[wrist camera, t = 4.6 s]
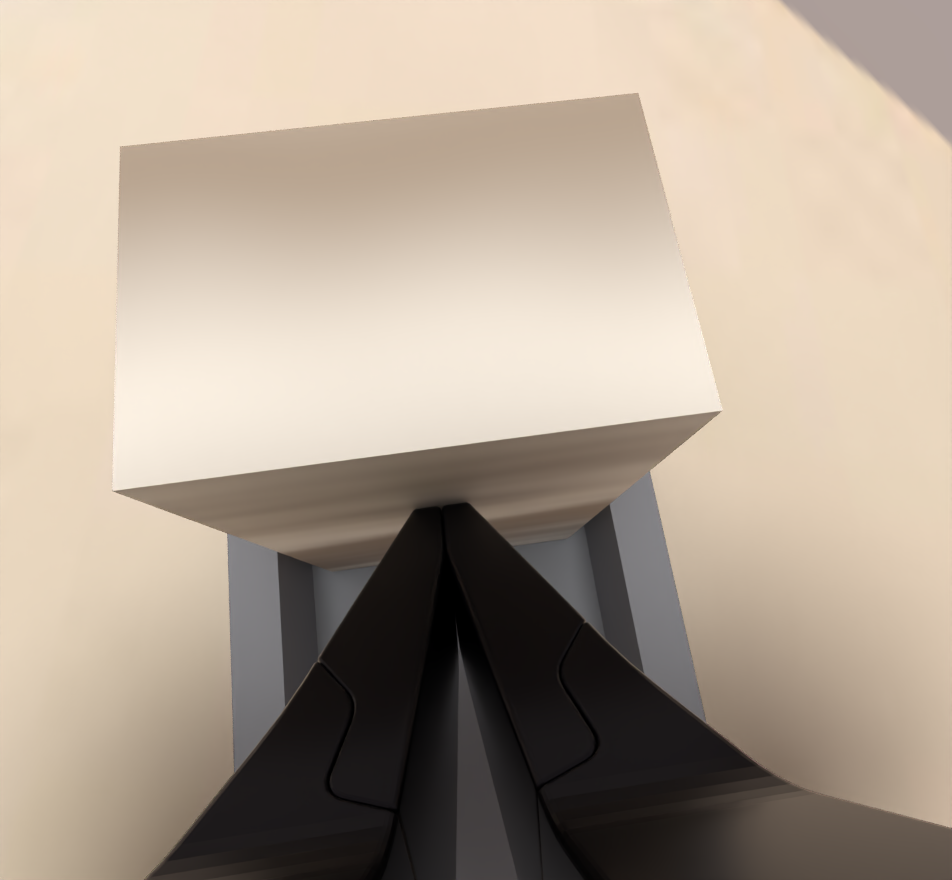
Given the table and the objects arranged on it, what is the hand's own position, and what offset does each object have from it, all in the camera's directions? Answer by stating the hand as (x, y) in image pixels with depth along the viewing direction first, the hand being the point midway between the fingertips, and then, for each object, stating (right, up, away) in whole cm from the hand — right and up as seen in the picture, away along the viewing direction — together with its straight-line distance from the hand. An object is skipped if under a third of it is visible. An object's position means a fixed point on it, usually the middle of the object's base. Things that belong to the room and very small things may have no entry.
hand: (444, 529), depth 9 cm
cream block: (0, 0, +7) cm, 7 cm away
